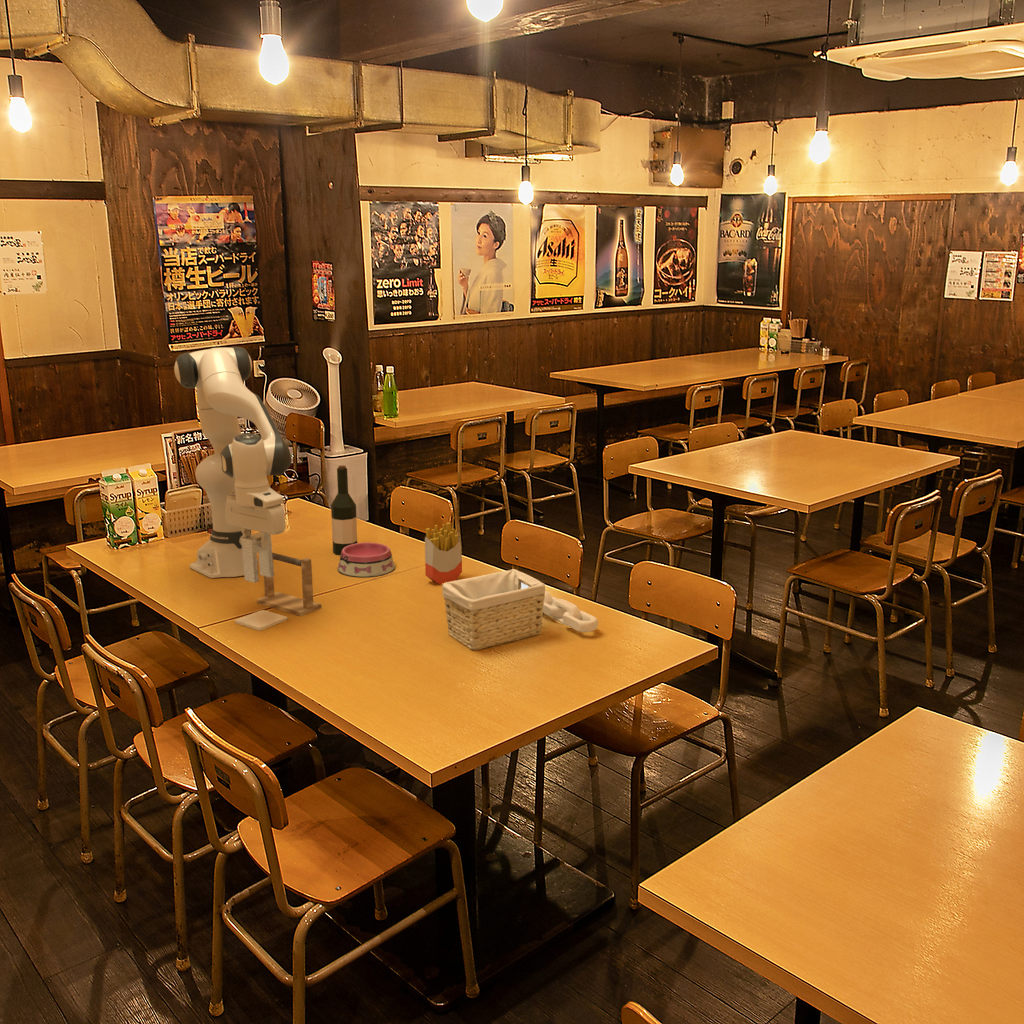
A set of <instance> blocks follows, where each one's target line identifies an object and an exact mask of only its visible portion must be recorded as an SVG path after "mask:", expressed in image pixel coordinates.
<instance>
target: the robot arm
mask: <svg viewBox="0 0 1024 1024" xmlns="http://www.w3.org/2000/svg"><path fill="white" fill-rule="evenodd" d="M173 369H174V374H175V375H174V376H175V377H176V380H177V381H178V382H179V384H180V386H182V387H183V388H185V389H195V388H196V399H197V401H196V402H197V409H198V415H199V421H200V427H201V433H202V434H203V436H204V437H205V438H207V439H208V440H209V442H210V443H211V446H212V448H213V451H214V454H211V455H208V456H206V457H205V458H204V459H203V460H201V462H200V463H199V464H197V466H196V468H195V473H194V474H195V479H196V482H197V484H198V485H199V486H200V487H201V488H203V490H204V491H205V492H206V496H207V498H208V501H209V504H210V505H209V506H210V509H211V519H212V528H209V529H208V532H207V534H210V536H209V539H208V540H207V541H206V542H205V543H204V544H203V545H201V546H200V547H199V548H198V549H197V553H196V561H194V562H191V563H190V564H189V569H192V570H193V571H195V572H197V573H200V574H201V575H204V576H205V577H208V578H209V579H214V578H233V577H241V576H244V565H243V553H242V542H241V538H242V537H245V536H249V535H252V531H254V532H255V531H256V532H258V533H259V532H260V534H261V535H262V538H261V540H259V546H260V547H267V546H268V542H267V540H268V538H269V536H270V534H271V535H273V536H274V535H275V536H276V535H279V534H283V533H284V532H285V530H286V528H287V527H286V513H285V509H284V506H283V505H282V504H284V497H283V495H281V494H280V493H278V492H276V491H275V490H274V489H273V488H271V487H270V483H269V480H268V476H282V475H283V474H284V473H286V471H288V470H289V468H290V467H291V464H292V456H291V451H290V448H289V446H288V444H287V443H286V441H285V439H283V437H282V436H281V434H280V432H279V431H278V428H277V426H276V425H275V423H274V421H273V419H272V416H271V414H270V412H269V411H268V408H267V407H266V405H265V403H264V402H263V400H262V399H261V397H260V396H259V395H257V394H256V393H254V392H252V391H251V390H250V389H248V387H247V386H246V385H245V383H244V382H245V381H247V380H248V379H249V378H250V377H251V375H252V370H253V361H252V358H251V356H250V354H249V352H248V351H247V350H246V348H244V347H241V346H232V347H212V348H208V349H203V350H202V349H201V350H198V351H197V350H196V351H192V352H188V351H187V352H184V353H180V354H179V355H178V356H177V357H176V358H175V363H174V367H173ZM238 418H241V419H246V420H248V421H250V422H251V423H252V424H254V425H255V427H256V429H257V430H258V433H259V435H258V434H254V433H242V431H241V428H240V424H239V419H238ZM257 565H259V559H257Z"/></svg>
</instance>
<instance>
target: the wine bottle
mask: <svg viewBox="0 0 1024 1024" xmlns="http://www.w3.org/2000/svg"><path fill="white" fill-rule="evenodd" d="M337 467H338V468H336V473H337V474H336V479H337V494H336V495H335V498H334V499H333V501H332V502H331V504H330V512H331V514H330V515H331V533H332V534H331V535H332V536H331V537H332V552H333V554H334V555H335V556H340V555H341V552H342V549H343V548H344V547H346V546H348V545H351V544H356V543H358V527H357V526H358V525H357V521H358V520H357V504H356V503H355V501H354V500H353V498H352V497H351V495H350V493H349V482H348V481H349V479H348V468H347V466H346V465H338V466H337Z"/></svg>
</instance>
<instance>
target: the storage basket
mask: <svg viewBox="0 0 1024 1024" xmlns="http://www.w3.org/2000/svg"><path fill="white" fill-rule="evenodd" d="M522 584H523V585H526V586H527V587H525V588H522ZM528 587H529V588H528ZM441 588H442V597H443V600H444V604H445V613H446V615H445V617H446V621H447V631H448V634H449V636H450V637H452V638H453V639H455V640H456V641H458V642H459V643H460V644H462V645H464V646H465V645H466V647H467V648H468V647H469V648H468V649H470V650H472V651H477V650H478V651H479V650H483V648H484V649H486V648H491V646H492V647H493V646H499V645H502V644H505V643H509V642H513V640H515V641H518V640H521V639H525V638H528V637H529V638H530V637H534V636H536V635H540V634H541V633H542V627H543V626H542V625H543V615H544V614H543V605H544V599H545V591H546V584H545V583H544V582H542V581H540V580H539V579H536V578H534V577H533V576H531V575H529V574H527V573H524V572H523V571H520V570H518V569H514V568H512V569H509V570H504V571H498V572H492V573H489V574H484V575H479V576H473V577H469V578H462V579H458V580H457V579H456V580H455V581H451V582H446V583H444V584H441ZM517 639H518V640H517Z"/></svg>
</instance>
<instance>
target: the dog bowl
mask: <svg viewBox="0 0 1024 1024" xmlns="http://www.w3.org/2000/svg"><path fill="white" fill-rule="evenodd" d="M395 570H396V565H395V562H394V558H393V554H392V551H391V549H390V547H389V546H387V545H386V544H383V543H377V542H370V541H369V542H357V543H356V544H351V545H348V546H346V547H344V548H343V549H342V552H341V555H339V561H338V566H337V572H338V573H339V574H340V575H342V576H345V577H349V578H350V577H351V578H358V579H360V578H361V579H362V578H363V579H365V578H376V577H382V576H385V575H389V574H391V573H393V572H394V571H395Z"/></svg>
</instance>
